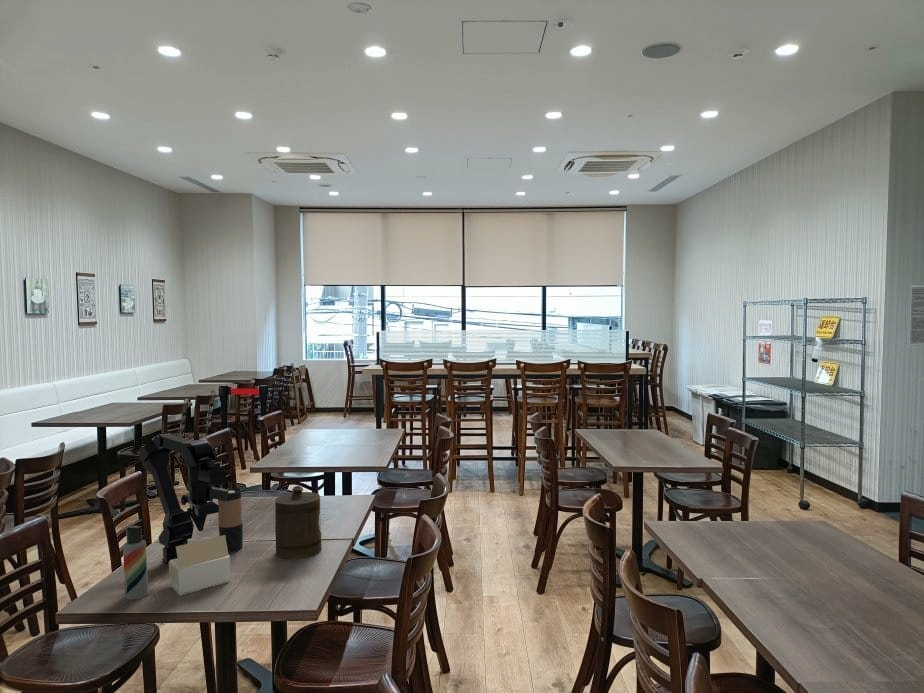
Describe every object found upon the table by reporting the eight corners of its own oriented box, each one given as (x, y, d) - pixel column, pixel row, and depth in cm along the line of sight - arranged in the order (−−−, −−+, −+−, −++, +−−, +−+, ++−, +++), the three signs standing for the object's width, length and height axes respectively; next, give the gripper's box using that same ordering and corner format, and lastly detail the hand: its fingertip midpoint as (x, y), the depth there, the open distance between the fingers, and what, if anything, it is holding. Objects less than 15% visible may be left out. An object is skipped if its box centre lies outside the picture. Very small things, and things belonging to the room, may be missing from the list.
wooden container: (331, 548, 205) (329, 483, 204) (296, 563, 193) (294, 494, 192) (300, 540, 213) (299, 478, 212) (266, 554, 201) (264, 488, 200)
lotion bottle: (121, 597, 170) (118, 527, 170) (141, 589, 175) (138, 521, 174) (131, 602, 167) (128, 530, 167) (151, 594, 172) (149, 524, 171)
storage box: (168, 585, 177) (167, 560, 177) (220, 571, 187) (219, 547, 187) (177, 596, 170) (176, 570, 170) (231, 581, 180) (230, 556, 179)
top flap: (175, 546, 172) (176, 546, 172) (224, 535, 181) (225, 534, 180) (179, 568, 170) (179, 567, 170) (228, 555, 179) (228, 555, 179)
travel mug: (235, 553, 202) (233, 494, 201) (214, 552, 203) (212, 493, 203) (247, 545, 209) (245, 488, 209) (227, 544, 211) (225, 487, 210)
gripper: (235, 482, 187) (237, 532, 187) (215, 471, 201) (217, 518, 201) (197, 489, 179) (199, 541, 180) (179, 477, 194) (181, 526, 194)
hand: (200, 530), depth 189 cm, fingers closed
